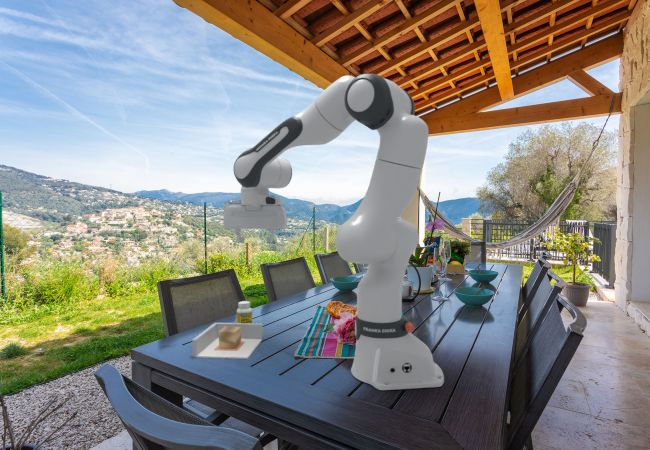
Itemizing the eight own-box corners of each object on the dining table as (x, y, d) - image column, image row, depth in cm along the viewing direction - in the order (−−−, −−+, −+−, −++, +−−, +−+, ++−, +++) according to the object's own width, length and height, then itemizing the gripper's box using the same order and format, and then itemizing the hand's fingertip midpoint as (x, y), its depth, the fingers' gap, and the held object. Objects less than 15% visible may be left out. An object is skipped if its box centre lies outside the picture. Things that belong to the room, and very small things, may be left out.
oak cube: (241, 342, 109) (240, 326, 109) (235, 348, 104) (235, 331, 104) (225, 342, 109) (225, 326, 109) (219, 348, 104) (218, 331, 104)
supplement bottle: (249, 326, 127) (248, 299, 127) (254, 330, 123) (254, 302, 123) (234, 328, 124) (234, 301, 124) (239, 332, 120) (239, 305, 120)
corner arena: (262, 338, 114) (262, 323, 114) (247, 358, 98) (247, 341, 98) (215, 337, 115) (214, 322, 115) (192, 357, 99) (192, 339, 99)
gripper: (219, 199, 111) (220, 243, 111) (283, 199, 109) (284, 243, 109) (227, 200, 117) (227, 242, 117) (287, 200, 115) (288, 242, 116)
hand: (255, 243), depth 113 cm, fingers open, 8 cm apart
